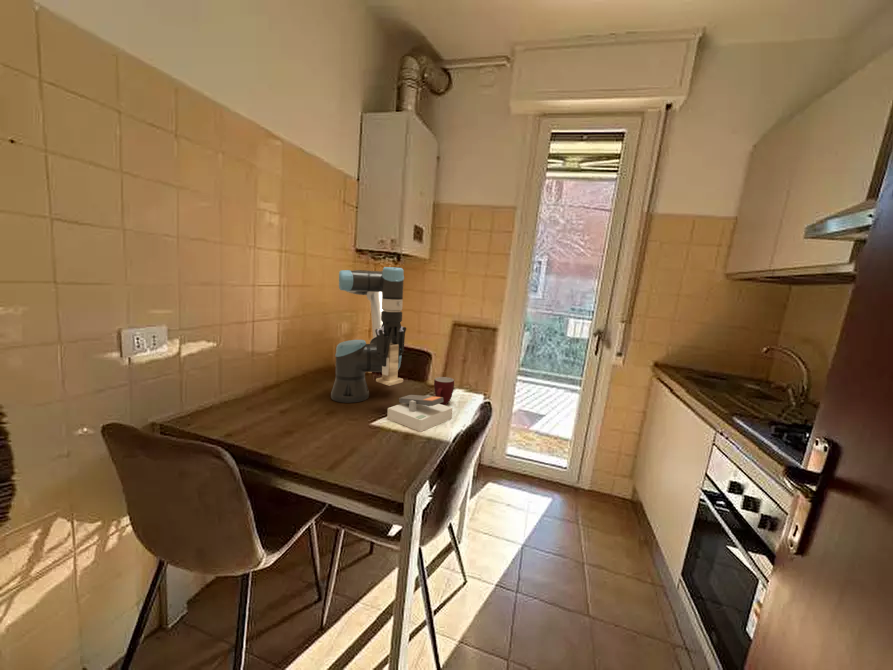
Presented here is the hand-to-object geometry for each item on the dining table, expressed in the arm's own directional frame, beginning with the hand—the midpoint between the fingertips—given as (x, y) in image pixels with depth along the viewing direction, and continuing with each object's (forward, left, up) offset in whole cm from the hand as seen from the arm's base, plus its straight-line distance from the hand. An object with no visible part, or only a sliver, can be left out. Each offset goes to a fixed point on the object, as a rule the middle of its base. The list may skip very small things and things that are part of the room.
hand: (389, 373), depth 140 cm
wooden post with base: (0, 0, -3) cm, 3 cm away
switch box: (+13, +3, -15) cm, 20 cm away
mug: (+9, +21, -15) cm, 27 cm away
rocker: (+13, +3, -8) cm, 16 cm away
